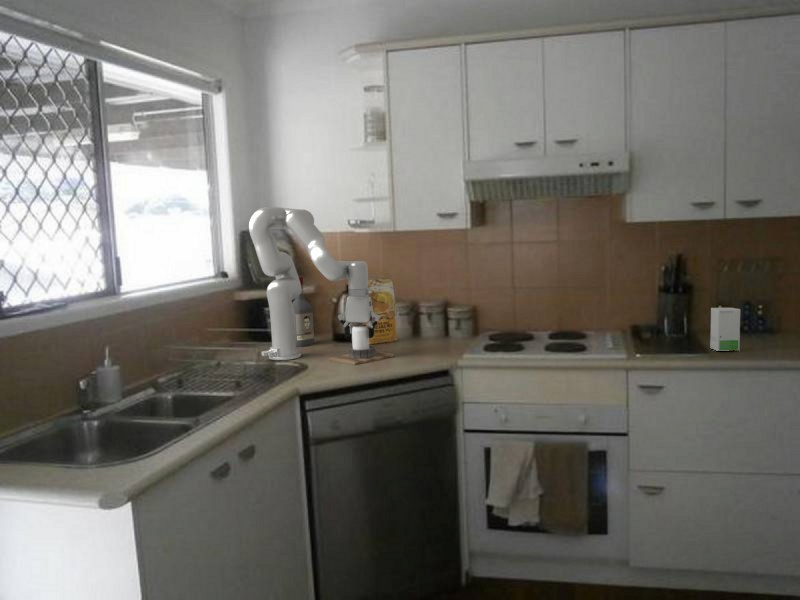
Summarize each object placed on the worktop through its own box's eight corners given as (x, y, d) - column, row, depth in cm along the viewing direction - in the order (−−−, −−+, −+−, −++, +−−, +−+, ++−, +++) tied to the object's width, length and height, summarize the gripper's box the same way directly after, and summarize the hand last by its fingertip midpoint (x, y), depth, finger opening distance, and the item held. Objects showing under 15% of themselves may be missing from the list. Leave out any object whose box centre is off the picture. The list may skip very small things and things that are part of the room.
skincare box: (717, 352, 245) (717, 309, 244) (709, 349, 252) (709, 307, 250) (740, 351, 245) (741, 308, 244) (731, 348, 252) (732, 306, 250)
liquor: (288, 345, 300) (283, 277, 297) (305, 342, 306) (301, 276, 303) (299, 347, 294) (295, 278, 290) (317, 344, 300) (313, 276, 296)
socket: (354, 365, 251) (354, 354, 251) (329, 359, 263) (328, 349, 263) (395, 356, 264) (394, 346, 264) (369, 351, 276) (368, 342, 276)
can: (349, 356, 263) (347, 326, 262) (360, 353, 268) (359, 323, 267) (361, 358, 259) (360, 327, 258) (373, 355, 264) (371, 324, 263)
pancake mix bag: (356, 343, 297) (352, 279, 294) (395, 338, 305) (392, 276, 302) (362, 345, 291) (358, 280, 288) (401, 340, 299) (399, 277, 296)
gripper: (382, 292, 262) (383, 336, 264) (341, 291, 267) (342, 334, 269) (376, 294, 255) (377, 339, 257) (333, 294, 260) (335, 338, 262)
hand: (359, 337), depth 263 cm, fingers open, 9 cm apart
